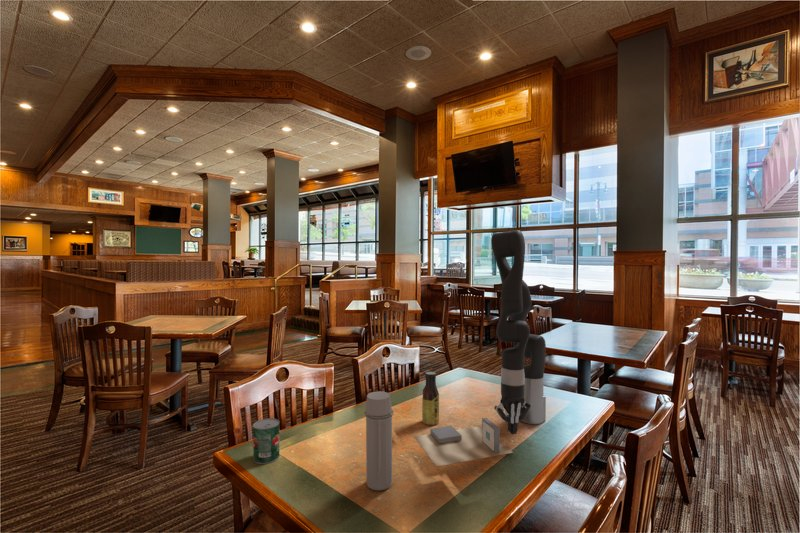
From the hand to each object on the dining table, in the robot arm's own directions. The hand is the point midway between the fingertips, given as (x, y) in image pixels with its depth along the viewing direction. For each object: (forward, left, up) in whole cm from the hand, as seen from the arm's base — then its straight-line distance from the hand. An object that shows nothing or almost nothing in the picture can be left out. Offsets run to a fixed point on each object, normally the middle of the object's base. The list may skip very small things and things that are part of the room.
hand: (512, 433), depth 126 cm
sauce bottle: (+19, -24, -5) cm, 31 cm away
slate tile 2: (+8, 0, -4) cm, 9 cm away
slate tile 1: (+15, -11, -2) cm, 19 cm away
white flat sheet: (+16, -5, -5) cm, 18 cm away
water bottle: (+47, +7, -5) cm, 48 cm away
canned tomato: (+77, -19, -5) cm, 80 cm away
